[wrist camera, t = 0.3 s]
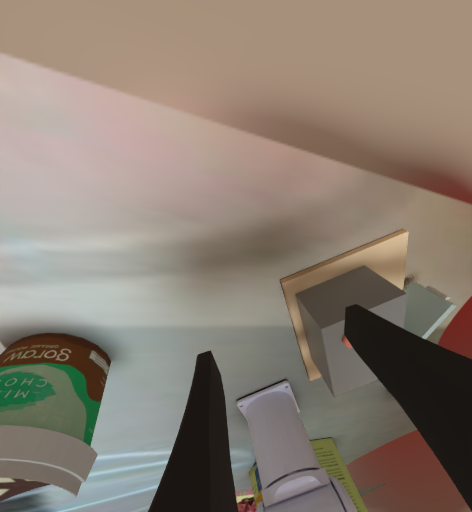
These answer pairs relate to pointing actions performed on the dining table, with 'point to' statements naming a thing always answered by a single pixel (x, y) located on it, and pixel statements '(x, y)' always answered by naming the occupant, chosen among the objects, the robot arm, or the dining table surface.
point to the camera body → (333, 319)
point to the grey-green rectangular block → (425, 309)
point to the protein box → (327, 460)
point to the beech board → (371, 255)
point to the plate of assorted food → (245, 501)
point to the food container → (49, 411)
